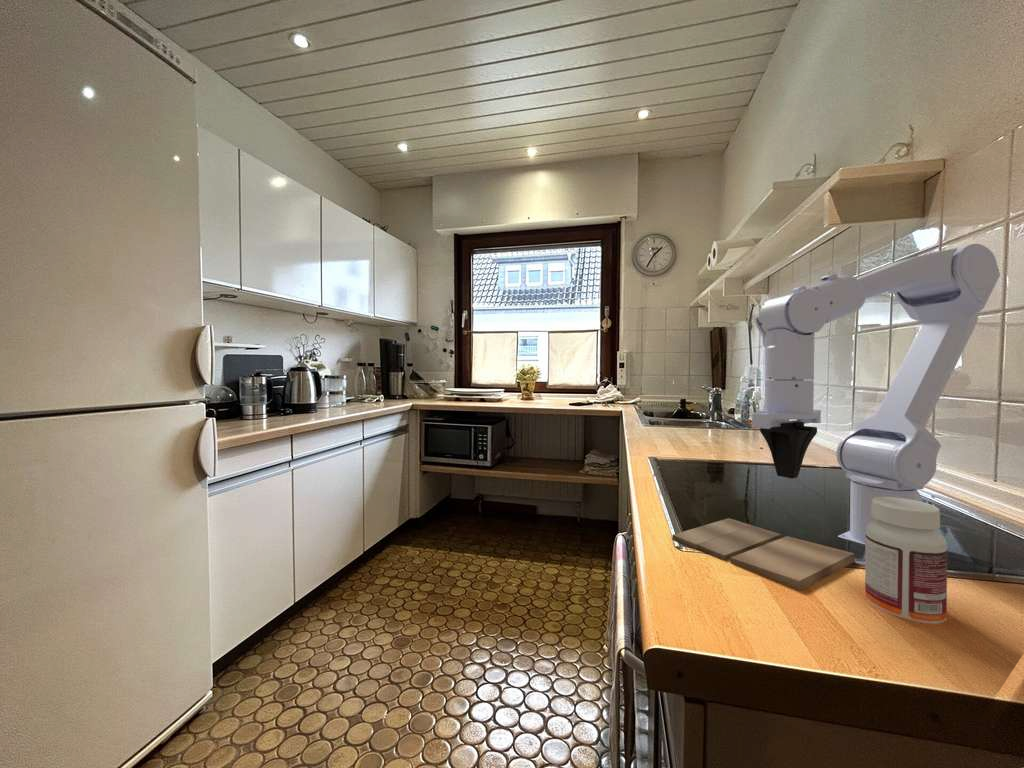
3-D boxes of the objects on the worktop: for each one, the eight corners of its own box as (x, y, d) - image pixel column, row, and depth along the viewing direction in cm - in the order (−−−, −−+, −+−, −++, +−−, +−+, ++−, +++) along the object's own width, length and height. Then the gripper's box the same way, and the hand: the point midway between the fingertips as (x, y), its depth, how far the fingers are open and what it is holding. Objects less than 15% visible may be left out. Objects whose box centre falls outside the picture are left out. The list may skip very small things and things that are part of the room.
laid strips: (728, 525, 67) (728, 518, 67) (785, 543, 60) (785, 535, 60) (672, 542, 60) (672, 534, 60) (728, 566, 53) (729, 557, 53)
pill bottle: (945, 611, 42) (947, 503, 42) (947, 637, 38) (949, 518, 38) (867, 589, 47) (868, 491, 47) (861, 611, 43) (862, 503, 42)
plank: (787, 544, 59) (786, 536, 60) (854, 562, 53) (854, 553, 53) (730, 567, 52) (730, 557, 52) (799, 591, 45) (799, 580, 46)
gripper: (784, 380, 64) (783, 465, 65) (730, 380, 57) (729, 476, 57) (838, 380, 58) (836, 474, 58) (785, 380, 51) (783, 488, 51)
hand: (787, 476), depth 57 cm, fingers closed
